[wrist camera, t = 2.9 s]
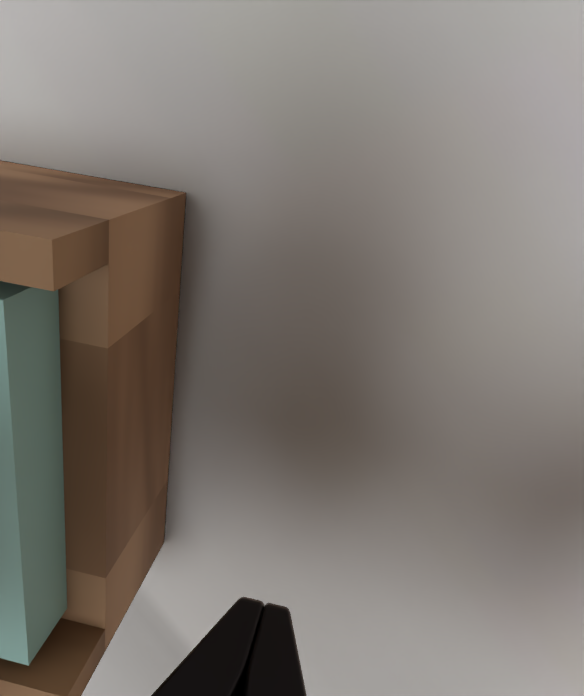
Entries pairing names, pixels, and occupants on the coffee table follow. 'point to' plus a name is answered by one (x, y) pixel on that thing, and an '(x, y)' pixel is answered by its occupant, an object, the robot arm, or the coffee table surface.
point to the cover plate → (30, 472)
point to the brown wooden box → (100, 390)
